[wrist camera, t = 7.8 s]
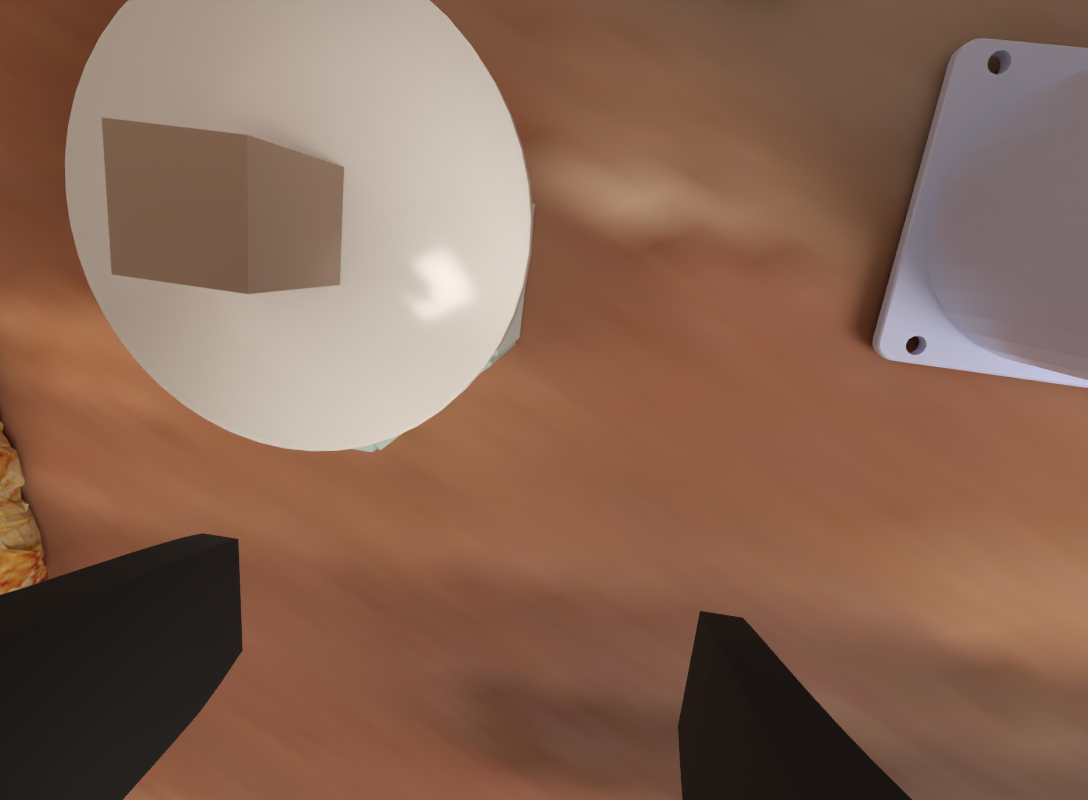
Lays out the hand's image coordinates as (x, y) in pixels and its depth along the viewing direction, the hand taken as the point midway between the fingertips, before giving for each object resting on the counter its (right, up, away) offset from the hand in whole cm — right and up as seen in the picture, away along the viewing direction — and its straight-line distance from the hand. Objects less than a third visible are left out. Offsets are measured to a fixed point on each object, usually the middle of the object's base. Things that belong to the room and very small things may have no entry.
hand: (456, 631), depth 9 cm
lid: (-4, +8, +5) cm, 10 cm away
